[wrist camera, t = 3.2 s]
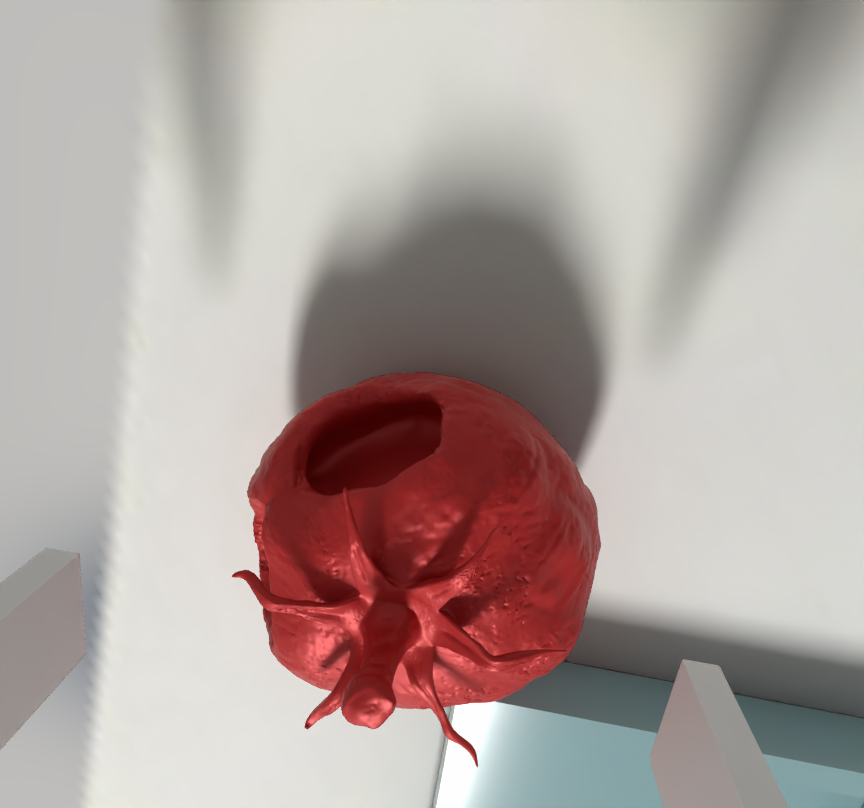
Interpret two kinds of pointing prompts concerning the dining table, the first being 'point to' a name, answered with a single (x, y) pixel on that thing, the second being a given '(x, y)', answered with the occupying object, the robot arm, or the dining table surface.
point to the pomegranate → (420, 547)
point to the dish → (627, 746)
